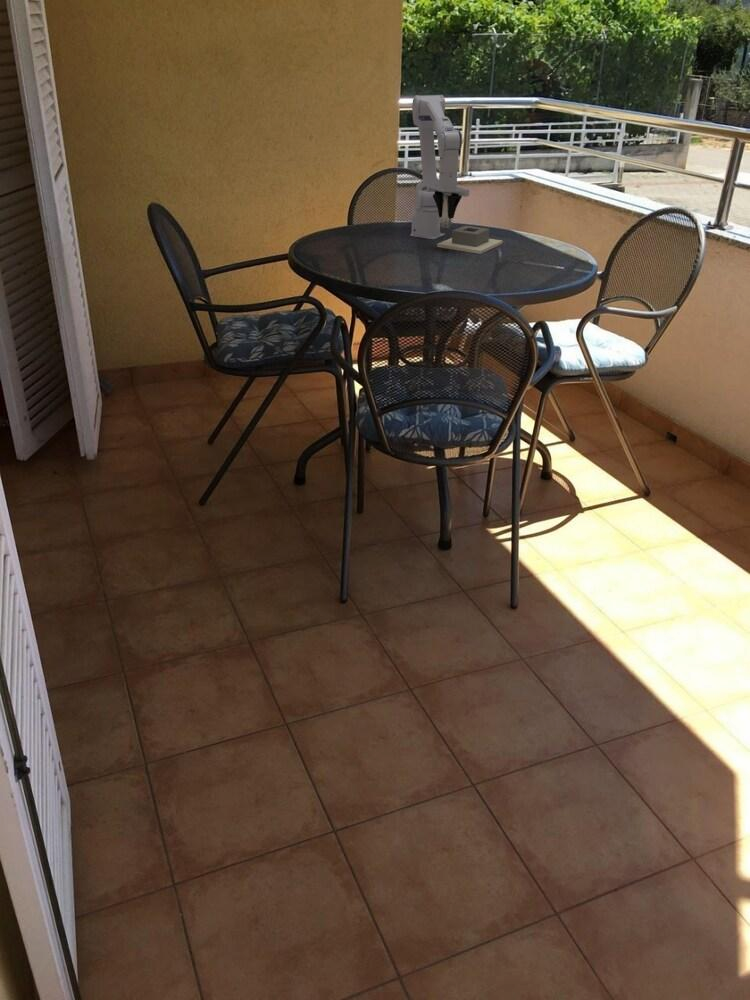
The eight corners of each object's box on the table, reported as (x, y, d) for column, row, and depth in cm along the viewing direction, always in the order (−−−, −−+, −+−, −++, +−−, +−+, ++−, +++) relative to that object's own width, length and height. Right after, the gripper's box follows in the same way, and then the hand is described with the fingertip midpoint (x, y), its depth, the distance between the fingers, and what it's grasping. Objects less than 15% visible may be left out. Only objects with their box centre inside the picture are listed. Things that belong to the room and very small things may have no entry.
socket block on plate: (437, 246, 273) (437, 231, 271) (460, 237, 285) (461, 222, 282) (480, 254, 266) (481, 238, 263) (502, 243, 277) (503, 228, 275)
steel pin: (439, 227, 268) (440, 194, 262) (444, 225, 270) (445, 193, 264) (447, 228, 266) (448, 195, 261) (452, 226, 268) (453, 194, 263)
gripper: (421, 172, 260) (420, 216, 267) (462, 176, 253) (459, 222, 260) (433, 168, 265) (431, 212, 272) (473, 173, 258) (470, 218, 265)
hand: (446, 217), depth 266 cm, fingers closed on steel pin, 3 cm apart
